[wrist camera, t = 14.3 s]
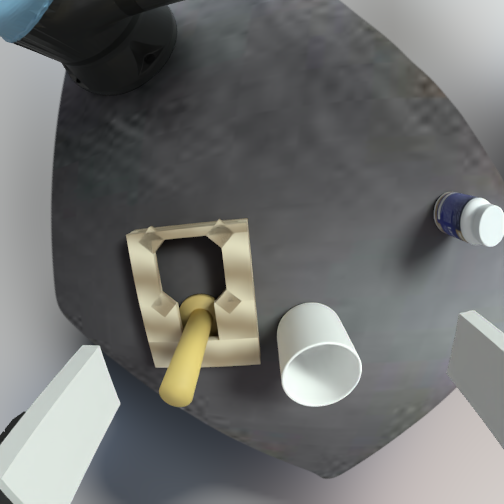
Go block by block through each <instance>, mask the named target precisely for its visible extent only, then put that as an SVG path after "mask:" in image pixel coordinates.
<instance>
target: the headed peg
mask: <svg viewBox="0 0 504 504" xmlns="http://www.w3.org/2000/svg"><path fill="white" fill-rule="evenodd" d="M215 300H216V298H214V297H213V296H210V295H207V294H194V295H191V296H189V297H188V298H186V299H185V300H184V301H183V303H182V304H181V306H180V308H179V311H180V316H181V321H182V326H183V333H182V336H181V338H180V340H179V343H178V345H177V347H176V350H175V352H174V355H173V357H172V359H171V362H170V364H169V367H168V369H167V371H166V374H165V376H164V379H163V381H162V384H161V386H160V389H159V394H160V396H161V398H162V399H163V400H164V401H165V402H166V403H168V404H170V405H172V406H176V407H184V406H187V405H189V404H190V403H191V401H192V399H193V395H194V391H195V387H196V383H197V380H198V376H199V372H200V368H201V364H202V361H203V357H204V353H205V349H206V345H207V342H208V338H209V337H213V336H218V335H219V334H218V327H217V321H216V314H215V307H214V301H215Z"/></svg>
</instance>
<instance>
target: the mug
mask: <svg viewBox="0 0 504 504" xmlns="http://www.w3.org/2000/svg"><path fill="white" fill-rule="evenodd" d="M277 344H278V353H279V363H280V372H281V381H282V387H283V389H284V391H285V393H286V394H287V395H288V396H289V397H290V398H291V399H292V400H293V401H295V402H297V403H299V404H302V405H305V406H313V407H317V406H325V405H329V404H332V403H335V402H337V401H339V400H341V399H343V398H344V397H346V396H347V395H348V394H349V393H350V392H351V391H352V390H353V389H354V388H355V387H356V385H357V384H358V382H359V379H360V377H361V372H362V364H361V360H360V358H359V356H358V354H357V352H356V350H355V348H354V346H353V344H352V342H351V340H350V338H349V336H348V334H347V332H346V330H345V328H344V326H343V325H342V323H341V321H340V319H339V317H338V316H337V314H336V313H335V312H334V311H333V310H332V309H331V308H329V307H328V306H326V305H323V304H320V303H304V304H300V305H297V306H295V307H293V308H292V309H290V310H289V311H288V312H287V313H286V314H285V315H284V316H283V317H282V319H281V321H280V323H279V325H278V329H277Z"/></svg>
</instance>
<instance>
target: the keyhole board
mask: <svg viewBox="0 0 504 504" xmlns="http://www.w3.org/2000/svg"><path fill="white" fill-rule="evenodd" d="M196 236H207V237H208V238H210V239H211V240H212V241H213V242H215V243H216V244H217V245H218V246H220V247H221V248H222V255H223V264H224V272H225V280H226V289H225V290H224V291H223V292H222V293H221V295H220V296H219V297H218V298H217V299H216V300H215V301H214V307H215V314H216V321H217V327H218V334H219V336H213V337H209V338H208V342H207V345H206V349H205V353H204V357H203V361H202V364H201V367H222V366H242V365H257V364H261V363H260V343H259V333H258V322H257V312H256V302H255V291H254V281H253V270H252V260H251V250H250V239H249V229H248V218H244V219H233V220H223V221H222V220H220V219H219V220H218V221H213V222H203V223H193V224H183V225H174V226H165V227H156V228H153V227H152V226H151V227H149V228H147V229H138V230H134V231H133V232H131V233H129V234H127V235H126V238H127V244H128V249H129V255H130V260H131V266H132V271H133V276H134V281H135V286H136V291H137V295H138V300H139V304H140V309H141V313H142V317H143V322H144V326H145V330H146V334H147V338H148V342H149V345H150V349H151V353H152V357H153V360H154V364H155V367H156V368H168V367H169V364H170V362H171V359H172V357H173V355H174V352H175V350H176V347H177V345H178V343H179V340H180V338H181V336H182V333H183V326H182V321H181V316H180V311H179V305H178V302H176V301H175V300H173V299H172V298H171V297H170V296H168V295H167V294H166V293H164V292H163V291H162V286H161V280H160V275H159V269H158V263H157V257H156V251H157V249H158V248H159V247H160V245H161V244H162V243H163V241H164V240H166V239H176V238H186V237H196Z"/></svg>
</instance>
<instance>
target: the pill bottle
mask: <svg viewBox="0 0 504 504" xmlns="http://www.w3.org/2000/svg"><path fill="white" fill-rule="evenodd" d="M434 220H435V223H436V225H437V227H438V228H439V229H440V230H441V231H442V232H444V233H446V234H448V235H451V236H453V237H455V238H458V239H460V240H462V241H465V242H467V243H469V244H472V245H481V244H482V245H485V246H487V247H493V246H495V245H497V244H498V243H499V242H500V241H501V239H502V237H503V235H504V213H503V211H502V209H501V208H499V207H498V206H495V205H492V204H490V203H489V202H488V201H487V200H485V199H483V198H480V197H475V196H470V195H465V194H461V193H456V192H447V193H444V194H443V195H441V196H440V197H439V199H438V200H437V202H436V204H435V207H434Z"/></svg>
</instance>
